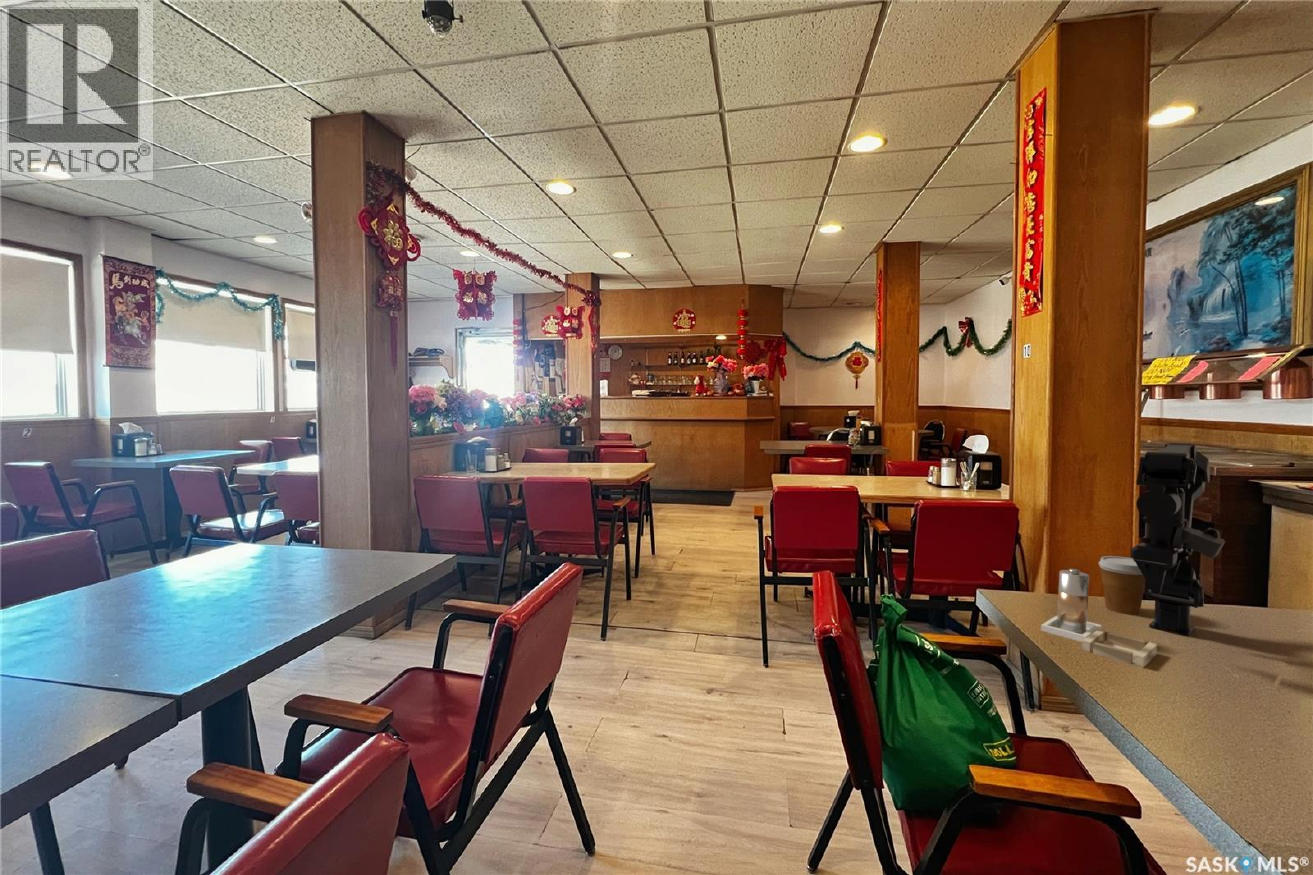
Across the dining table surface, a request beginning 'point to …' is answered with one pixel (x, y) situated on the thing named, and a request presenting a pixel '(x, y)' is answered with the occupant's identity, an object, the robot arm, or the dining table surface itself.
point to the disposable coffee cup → (1122, 584)
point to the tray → (1052, 629)
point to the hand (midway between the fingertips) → (1162, 589)
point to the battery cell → (1072, 601)
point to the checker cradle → (1120, 648)
